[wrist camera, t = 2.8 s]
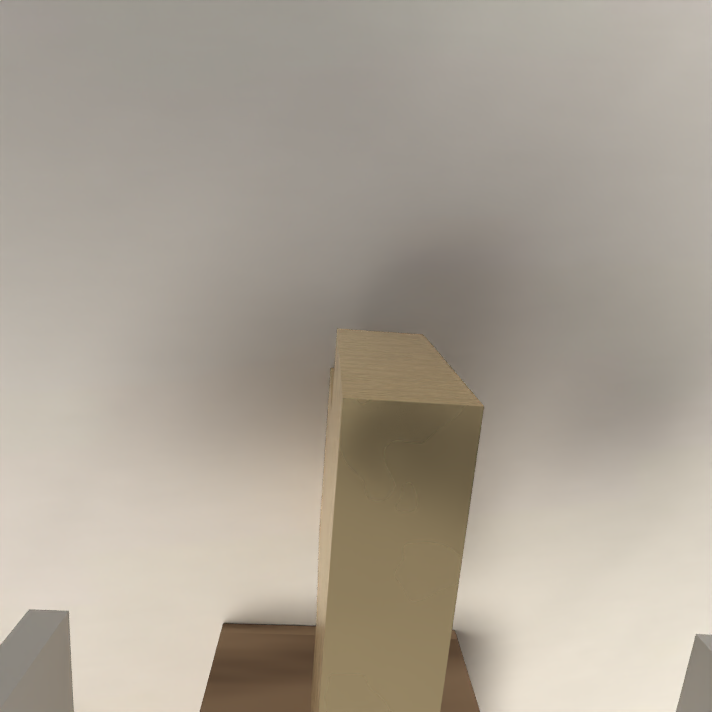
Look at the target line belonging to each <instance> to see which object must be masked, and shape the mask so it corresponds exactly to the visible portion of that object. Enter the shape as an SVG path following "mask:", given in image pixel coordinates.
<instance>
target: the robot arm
mask: <svg viewBox="0 0 712 712" xmlns="http://www.w3.org/2000/svg"><path fill="white" fill-rule="evenodd" d="M0 712H74V709H73V689H72V669H71V649H70V629H69V611H57V610H30V609H29V610H28V612H27V613H26V614H25V615H24V617H23V618H22V619H21V620H20V622H19V623H18V624H17V625H16V626H15V628H14V629H13V630H12V631H11V633H10V634H9V635H8V636H7V638H6V639H5V640H4V641H3V643H2V644H1V645H0ZM676 712H712V635H703V634H696V636H695V640H694V644H693V648H692V652H691V656H690V659H689V663H688V667H687V671H686V675H685V679H684V683H683V687H682V690H681V694H680V698H679V702H678V706H677V710H676Z"/></svg>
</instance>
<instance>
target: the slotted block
mask: <svg viewBox="0 0 712 712" xmlns="http://www.w3.org/2000/svg"><path fill="white" fill-rule="evenodd" d="M315 634H316V626H287V625H254V624H223V626H222V630H221V633H220V637H219V641H218V645H217V648H216V652H215V656H214V660H213V664H212V667H211V671H210V675H209V679H208V682H207V686H206V690H205V694H204V698H203V701H202V705H201V709H200V712H311V694H312V676H313V662H314V648H315ZM440 712H480V710H479V707H478V704H477V701H476V697H475V694H474V691H473V688H472V684H471V681H470V678H469V675H468V671H467V668H466V665H465V662H464V659H463V655H462V652H461V649H460V646H459V642H458V639H457V636H456V633H455V631H454V630H452V633H451V640H450V647H449V654H448V660H447V667H446V674H445V681H444V688H443V695H442V702H441V709H440Z"/></svg>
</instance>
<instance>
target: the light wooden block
mask: <svg viewBox="0 0 712 712" xmlns="http://www.w3.org/2000/svg"><path fill="white" fill-rule="evenodd" d="M483 410H484V406H483V405H482V403H481V402H480V401H479V400H478V399H477V398H476V396H475V395H474V394H473V393H472V392H471V390H470V389H469V388H468V387H467V386H466V385H465V383H464V382H463V381H462V380H461V379H460V377H459V376H458V375H457V374H456V373H455V372H454V370H453V369H452V368H451V367H450V366H449V364H448V363H447V362H446V361H445V360H444V359H443V357H442V356H441V355H440V354H439V353H438V351H437V350H436V349H435V348H434V347H433V346H432V344H431V343H430V342H429V341H428V340H427V338H426V337H425V336H424V335H423V334H409V333H395V332H380V331H365V330H350V329H337V339H336V353H335V367H334V368H331V370H330V385H329V399H328V414H327V428H326V442H325V457H324V471H323V486H322V500H321V514H320V529H319V556H318V587H317V618H316V634H315V648H314V662H313V676H312V694H311V712H440V709H441V702H442V695H443V688H444V681H445V674H446V667H447V660H448V654H449V647H450V640H451V633H452V626H453V619H454V612H455V605H456V598H457V591H458V584H459V577H460V570H461V563H462V556H463V549H464V542H465V535H466V528H467V521H468V514H469V507H470V500H471V493H472V486H473V479H474V472H475V465H476V458H477V451H478V444H479V437H480V430H481V424H482V417H483Z"/></svg>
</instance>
